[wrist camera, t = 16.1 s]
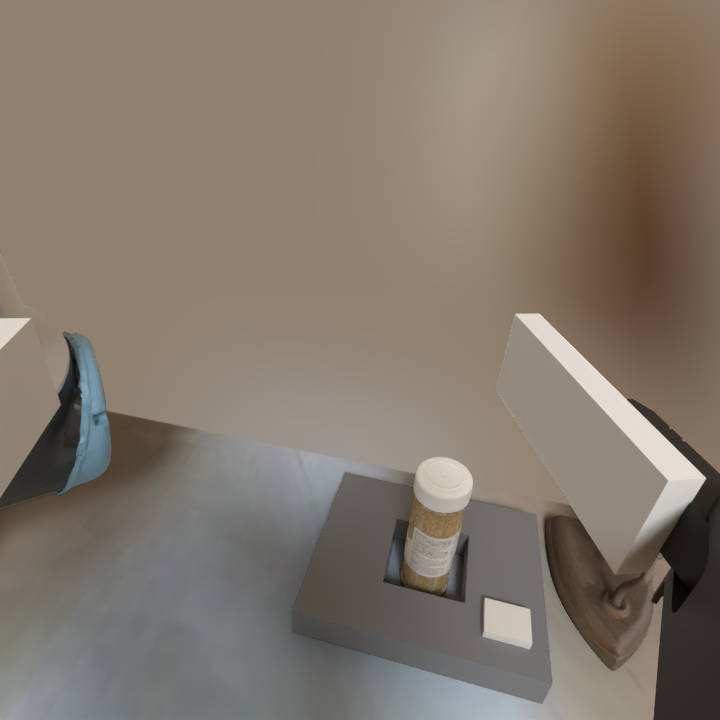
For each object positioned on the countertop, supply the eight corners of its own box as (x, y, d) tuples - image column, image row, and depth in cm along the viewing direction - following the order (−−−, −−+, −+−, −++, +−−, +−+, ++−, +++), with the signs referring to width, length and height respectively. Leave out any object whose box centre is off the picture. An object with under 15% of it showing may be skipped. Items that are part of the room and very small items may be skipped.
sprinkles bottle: (412, 549, 47) (429, 446, 40) (455, 572, 45) (482, 468, 38) (390, 585, 43) (406, 480, 36) (436, 612, 41) (461, 505, 34)
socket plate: (292, 632, 39) (291, 605, 37) (344, 492, 53) (345, 467, 51) (541, 703, 36) (555, 678, 34) (529, 534, 49) (538, 509, 47)
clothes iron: (544, 523, 51) (574, 445, 45) (643, 549, 48) (687, 471, 43) (548, 652, 39) (588, 569, 33) (677, 694, 37) (744, 613, 31)
